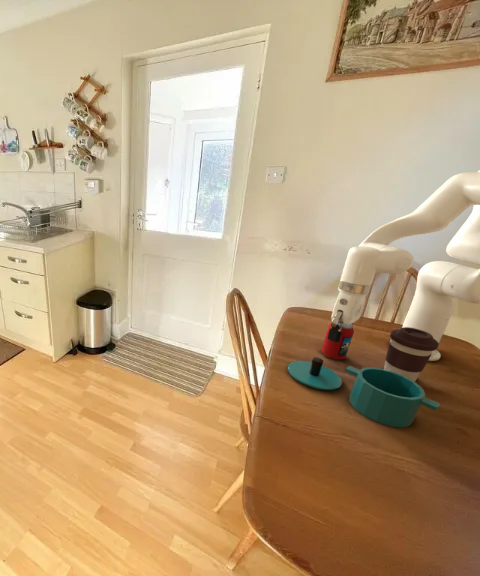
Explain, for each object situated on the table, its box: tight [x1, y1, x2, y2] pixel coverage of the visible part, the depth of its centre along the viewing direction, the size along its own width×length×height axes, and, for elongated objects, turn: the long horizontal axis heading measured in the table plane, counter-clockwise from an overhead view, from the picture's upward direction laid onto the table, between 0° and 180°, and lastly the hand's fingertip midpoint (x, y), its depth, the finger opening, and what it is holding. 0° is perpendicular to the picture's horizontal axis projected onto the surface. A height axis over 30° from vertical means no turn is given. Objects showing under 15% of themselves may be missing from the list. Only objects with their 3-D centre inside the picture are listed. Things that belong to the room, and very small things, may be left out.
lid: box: [287, 356, 343, 391], centre depth 93 cm, size 14×14×6 cm
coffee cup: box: [383, 327, 440, 382], centre depth 92 cm, size 10×10×15 cm
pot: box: [344, 365, 441, 428], centre depth 80 cm, size 13×18×8 cm
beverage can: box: [320, 320, 355, 360], centre depth 103 cm, size 7×7×12 cm
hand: (338, 336), depth 103 cm, fingers closed on beverage can, 6 cm apart
